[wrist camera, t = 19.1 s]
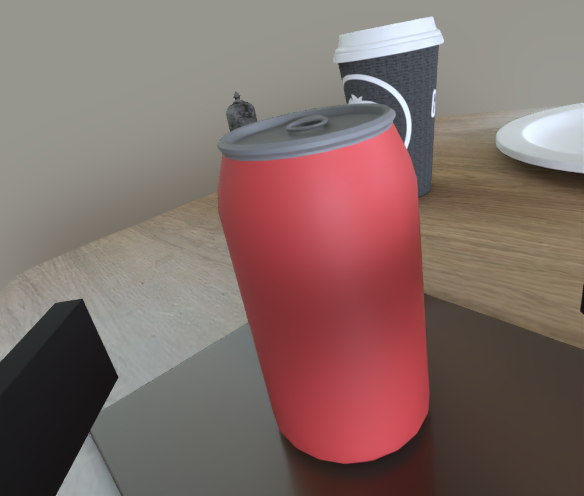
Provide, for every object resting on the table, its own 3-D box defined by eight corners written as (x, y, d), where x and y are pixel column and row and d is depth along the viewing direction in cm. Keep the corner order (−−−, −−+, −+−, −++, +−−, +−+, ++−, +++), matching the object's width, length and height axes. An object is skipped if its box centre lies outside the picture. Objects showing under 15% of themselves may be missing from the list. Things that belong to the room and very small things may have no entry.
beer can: (422, 351, 20) (405, 91, 15) (441, 477, 15) (425, 126, 10) (289, 355, 22) (235, 119, 17) (259, 471, 16) (163, 164, 11)
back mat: (376, 1003, 7) (373, 999, 7) (88, 429, 21) (84, 420, 20) (677, 394, 17) (680, 383, 16) (344, 272, 30) (343, 264, 30)
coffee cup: (455, 202, 38) (452, 12, 31) (347, 213, 40) (324, 37, 34) (440, 170, 46) (435, 16, 40) (352, 181, 48) (334, 36, 42)
